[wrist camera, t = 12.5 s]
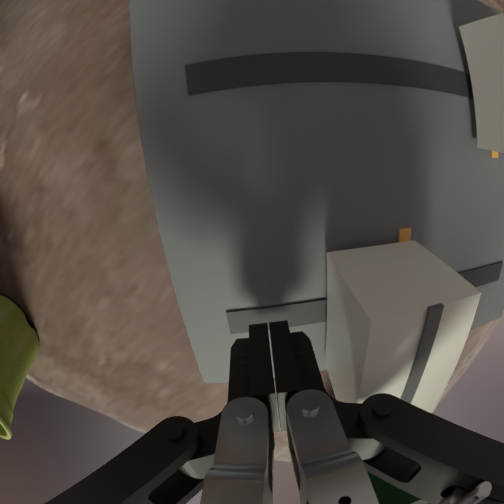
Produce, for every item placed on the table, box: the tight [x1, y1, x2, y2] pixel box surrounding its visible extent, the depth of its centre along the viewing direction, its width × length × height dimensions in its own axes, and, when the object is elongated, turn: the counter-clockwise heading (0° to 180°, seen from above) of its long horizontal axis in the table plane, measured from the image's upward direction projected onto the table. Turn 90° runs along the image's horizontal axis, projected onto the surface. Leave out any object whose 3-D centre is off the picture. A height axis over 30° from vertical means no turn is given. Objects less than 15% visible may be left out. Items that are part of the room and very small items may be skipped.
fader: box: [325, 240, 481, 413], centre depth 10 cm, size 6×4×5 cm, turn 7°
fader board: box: [130, 0, 504, 383], centre depth 11 cm, size 20×20×3 cm
